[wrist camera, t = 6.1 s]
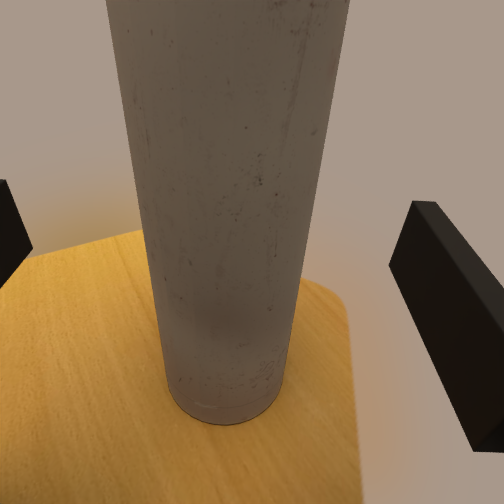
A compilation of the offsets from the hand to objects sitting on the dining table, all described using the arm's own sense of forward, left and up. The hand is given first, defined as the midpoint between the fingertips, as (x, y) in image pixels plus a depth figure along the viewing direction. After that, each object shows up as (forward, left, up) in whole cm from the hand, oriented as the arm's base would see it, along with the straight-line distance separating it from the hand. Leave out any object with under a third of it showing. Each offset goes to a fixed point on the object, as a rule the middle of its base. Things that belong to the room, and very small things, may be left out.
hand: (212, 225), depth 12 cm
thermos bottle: (+2, -4, -15) cm, 16 cm away
